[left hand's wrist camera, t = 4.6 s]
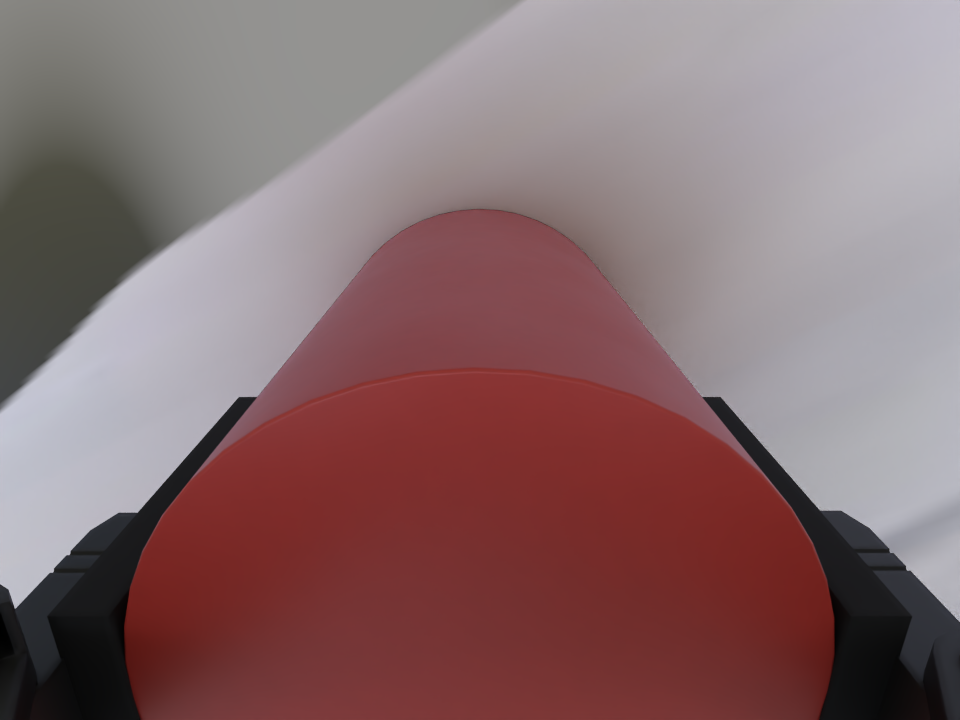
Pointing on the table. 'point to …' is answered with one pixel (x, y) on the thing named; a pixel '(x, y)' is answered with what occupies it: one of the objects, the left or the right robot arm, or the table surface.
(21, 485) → the table surface
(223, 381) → the table surface
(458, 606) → the canister
